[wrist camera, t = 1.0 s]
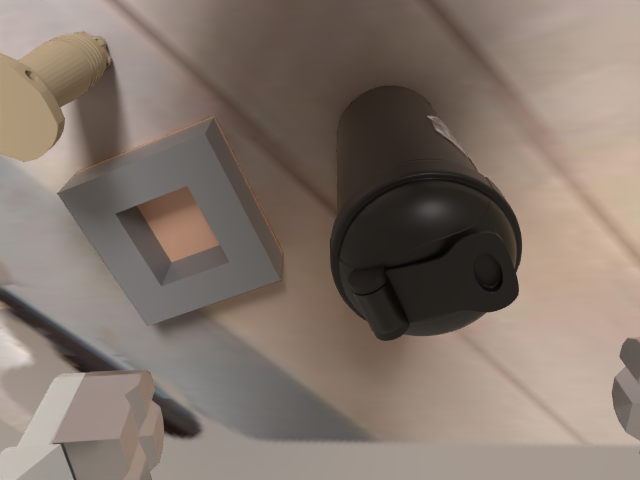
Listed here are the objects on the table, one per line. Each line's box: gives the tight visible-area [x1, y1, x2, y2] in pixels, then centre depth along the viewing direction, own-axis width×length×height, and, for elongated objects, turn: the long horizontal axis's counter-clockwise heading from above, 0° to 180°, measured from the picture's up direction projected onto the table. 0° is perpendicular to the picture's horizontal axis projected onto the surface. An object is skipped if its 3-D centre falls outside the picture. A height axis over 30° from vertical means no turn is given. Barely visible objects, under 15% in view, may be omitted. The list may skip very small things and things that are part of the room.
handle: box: [0, 32, 112, 162], centre depth 39 cm, size 5×6×15 cm
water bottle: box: [330, 86, 522, 341], centre depth 39 cm, size 10×10×23 cm
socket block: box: [57, 116, 283, 326], centre depth 50 cm, size 14×13×4 cm
